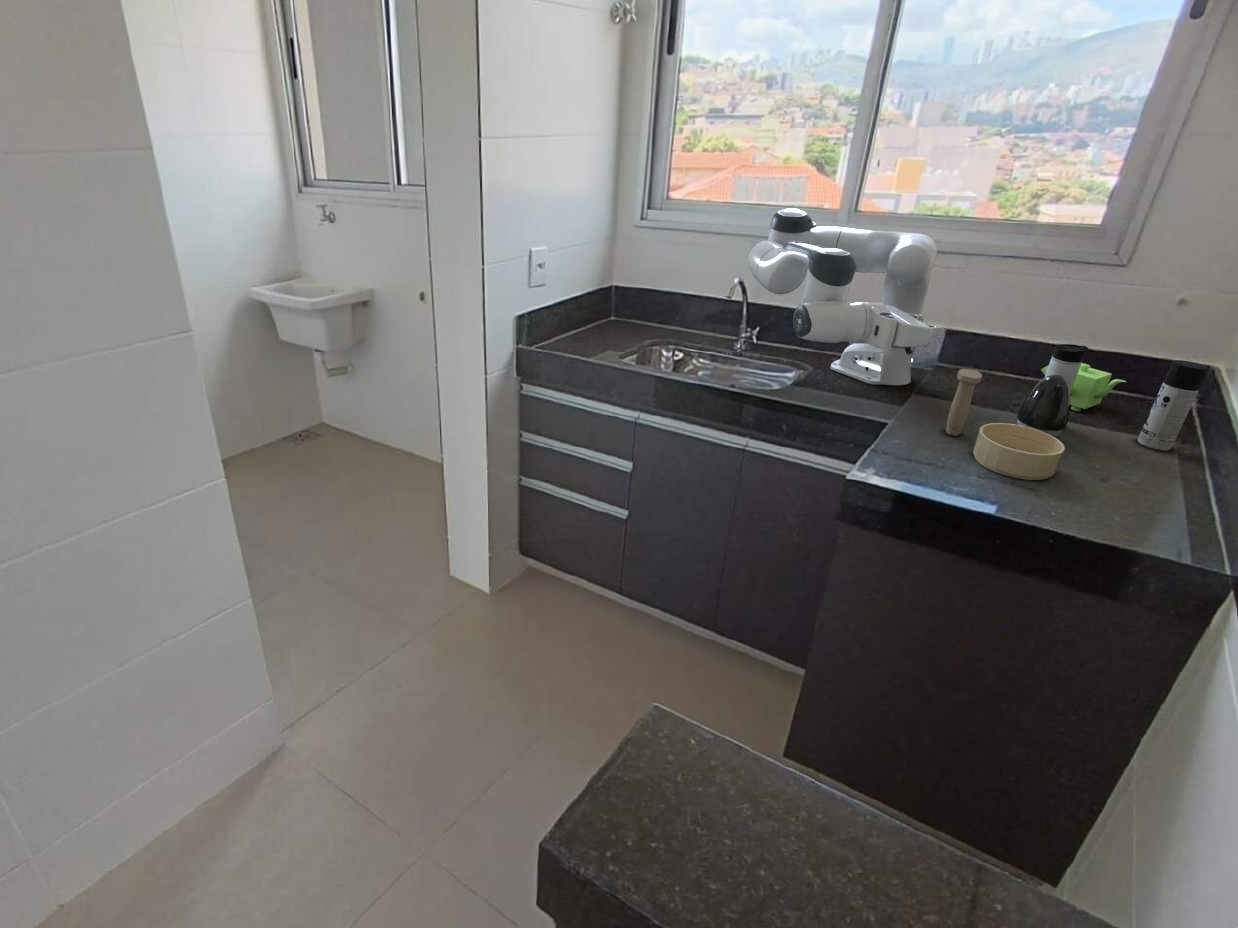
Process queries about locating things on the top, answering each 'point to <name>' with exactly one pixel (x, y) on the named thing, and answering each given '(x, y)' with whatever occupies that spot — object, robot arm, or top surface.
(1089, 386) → the kettle
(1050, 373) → the travel mug
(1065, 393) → the black tapered dome
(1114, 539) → the top surface
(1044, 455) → the bowl
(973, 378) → the handle
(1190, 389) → the spray can
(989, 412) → the top surface
